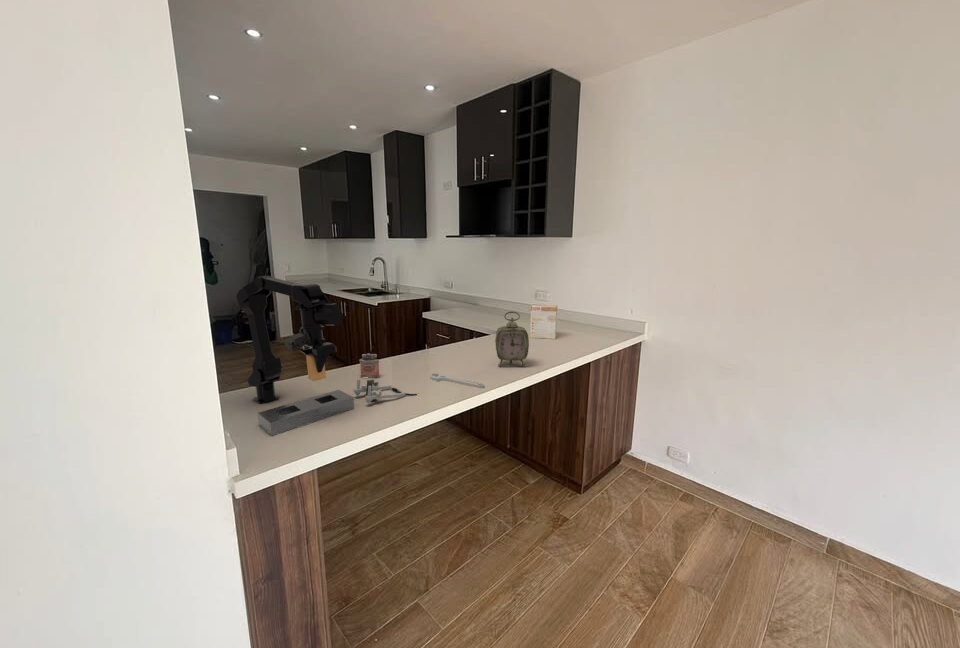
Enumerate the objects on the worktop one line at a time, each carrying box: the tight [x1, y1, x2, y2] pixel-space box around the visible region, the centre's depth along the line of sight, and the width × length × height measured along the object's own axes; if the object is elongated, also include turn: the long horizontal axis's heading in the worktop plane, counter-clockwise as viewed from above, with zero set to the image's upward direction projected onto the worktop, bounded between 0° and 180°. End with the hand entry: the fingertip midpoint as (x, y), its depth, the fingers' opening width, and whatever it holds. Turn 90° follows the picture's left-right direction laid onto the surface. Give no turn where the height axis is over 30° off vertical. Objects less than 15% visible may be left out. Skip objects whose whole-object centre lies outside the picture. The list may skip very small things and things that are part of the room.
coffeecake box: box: [529, 303, 558, 340], centre depth 229 cm, size 15×7×20 cm, turn 74°
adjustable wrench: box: [429, 372, 485, 389], centre depth 154 cm, size 25×6×2 cm, turn 56°
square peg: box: [305, 354, 327, 382], centre depth 125 cm, size 4×4×8 cm
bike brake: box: [353, 378, 418, 404], centre depth 140 cm, size 14×7×20 cm
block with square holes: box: [257, 389, 355, 436], centre depth 123 cm, size 10×26×4 cm, turn 138°
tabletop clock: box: [494, 311, 530, 368], centre depth 174 cm, size 14×9×25 cm, turn 91°
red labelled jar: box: [359, 353, 381, 379], centre depth 159 cm, size 8×3×10 cm, turn 83°
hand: (316, 370), depth 125 cm, fingers closed on square peg, 4 cm apart
